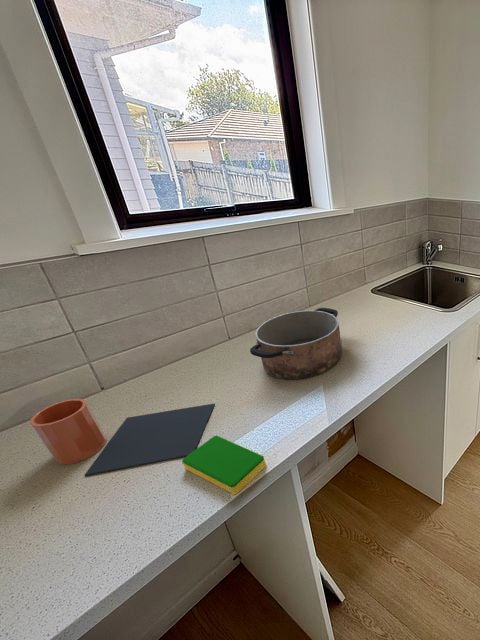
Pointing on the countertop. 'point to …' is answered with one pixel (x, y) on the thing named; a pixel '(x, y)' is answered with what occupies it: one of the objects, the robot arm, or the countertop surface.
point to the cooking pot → (299, 343)
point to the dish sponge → (224, 464)
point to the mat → (153, 439)
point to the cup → (69, 431)
